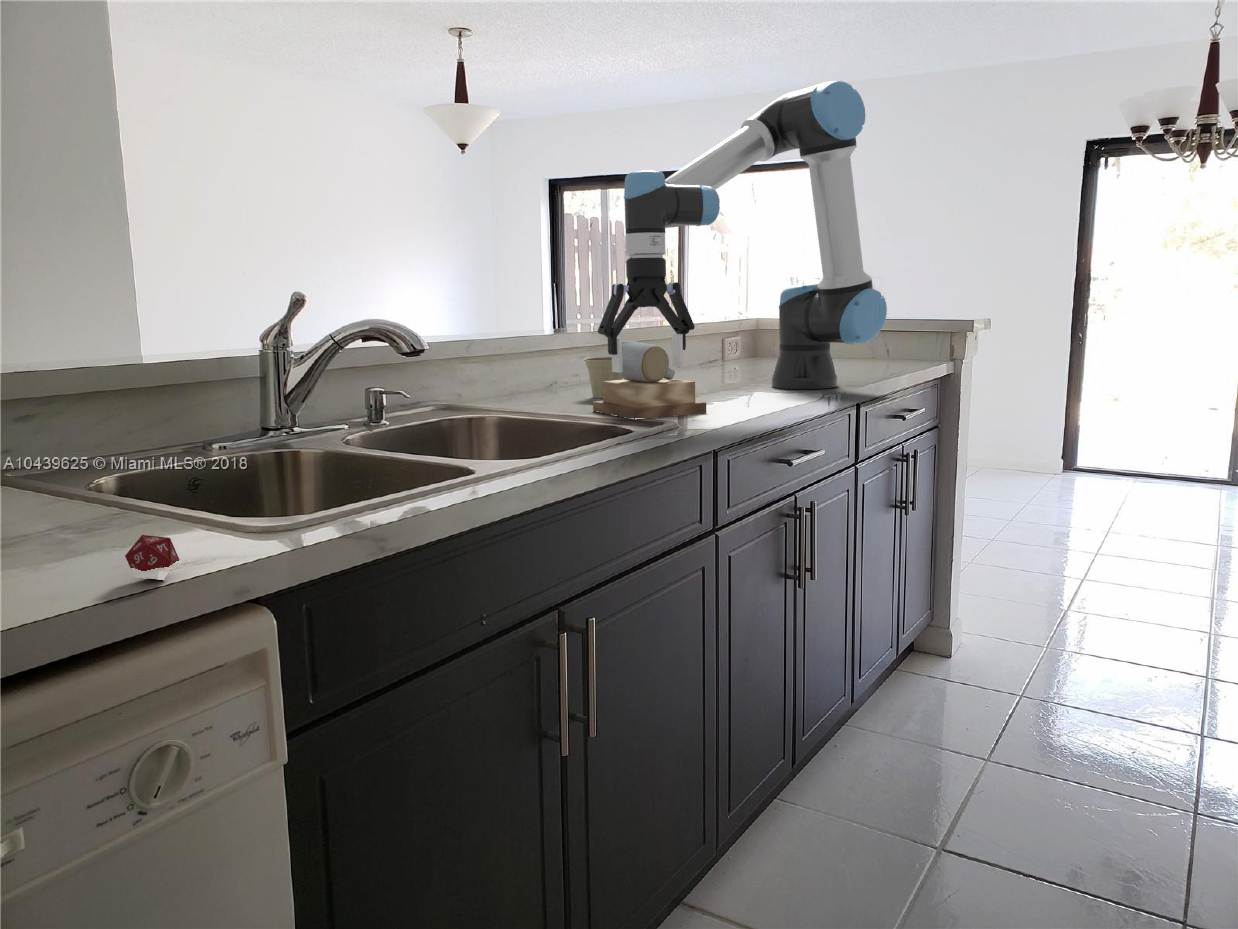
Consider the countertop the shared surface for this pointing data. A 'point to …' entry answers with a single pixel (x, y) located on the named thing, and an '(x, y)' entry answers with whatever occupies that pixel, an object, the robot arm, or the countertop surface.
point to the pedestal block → (649, 392)
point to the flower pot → (600, 374)
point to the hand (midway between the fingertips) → (648, 369)
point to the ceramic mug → (645, 363)
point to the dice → (151, 553)
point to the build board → (650, 410)
